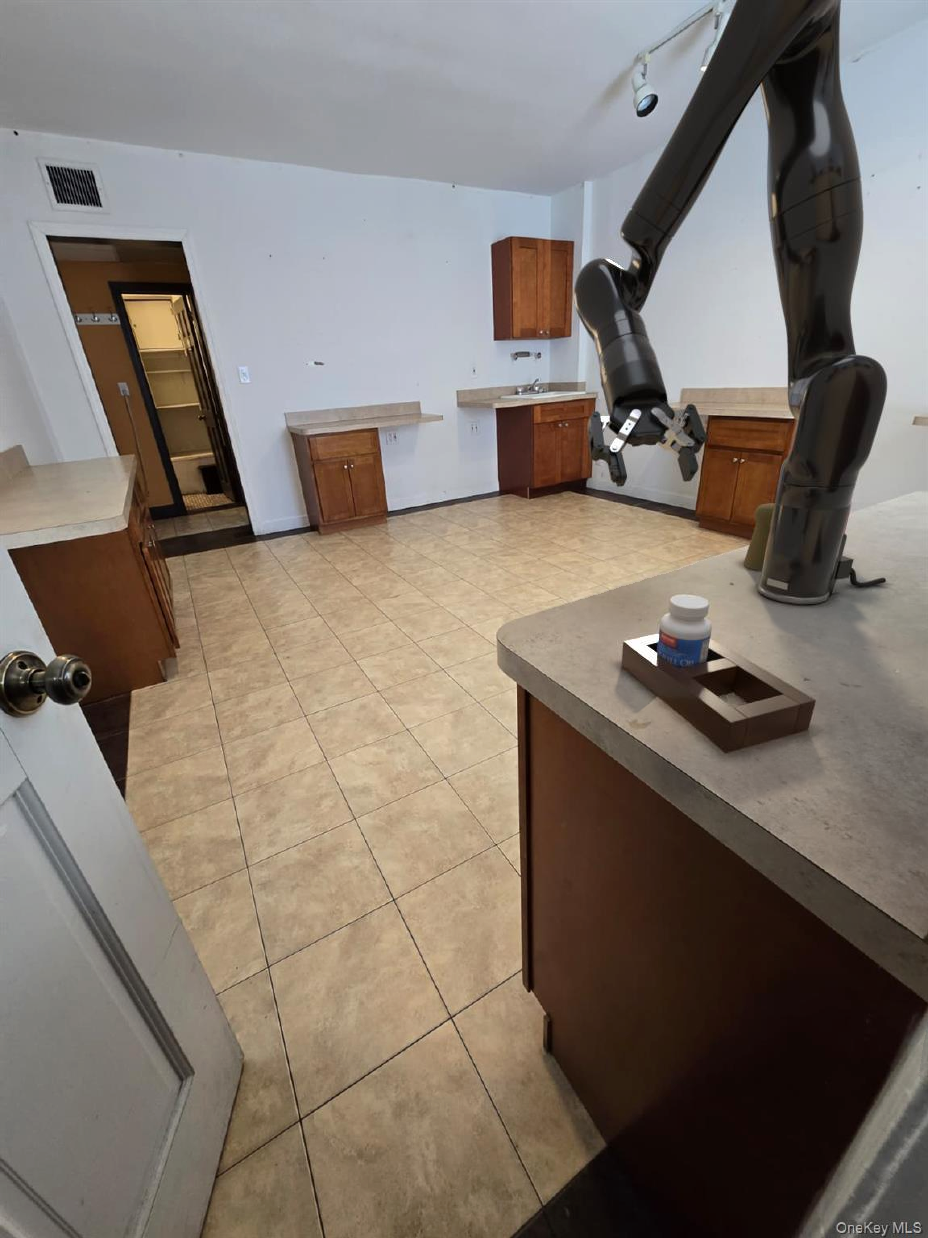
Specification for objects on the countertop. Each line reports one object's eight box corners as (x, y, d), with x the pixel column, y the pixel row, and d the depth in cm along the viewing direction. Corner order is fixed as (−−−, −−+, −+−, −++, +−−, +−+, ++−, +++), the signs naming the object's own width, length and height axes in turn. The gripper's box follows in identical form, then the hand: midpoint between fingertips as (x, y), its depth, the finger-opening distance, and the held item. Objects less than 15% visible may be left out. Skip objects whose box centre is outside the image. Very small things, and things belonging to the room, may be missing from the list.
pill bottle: (647, 680, 60) (654, 604, 56) (662, 661, 64) (670, 588, 60) (696, 694, 57) (707, 614, 53) (709, 672, 61) (721, 596, 57)
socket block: (688, 651, 66) (691, 626, 64) (808, 730, 50) (816, 700, 49) (621, 666, 64) (622, 641, 62) (725, 753, 48) (731, 722, 47)
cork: (786, 571, 89) (800, 508, 84) (748, 571, 90) (759, 508, 85) (775, 560, 94) (786, 500, 89) (739, 560, 95) (749, 500, 91)
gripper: (584, 361, 66) (607, 465, 60) (694, 353, 66) (726, 456, 60) (573, 404, 73) (593, 501, 67) (672, 397, 73) (700, 493, 67)
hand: (656, 480), depth 64 cm, fingers open, 8 cm apart
